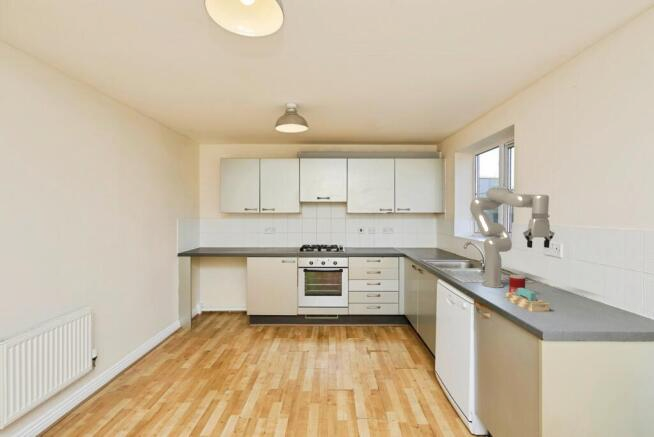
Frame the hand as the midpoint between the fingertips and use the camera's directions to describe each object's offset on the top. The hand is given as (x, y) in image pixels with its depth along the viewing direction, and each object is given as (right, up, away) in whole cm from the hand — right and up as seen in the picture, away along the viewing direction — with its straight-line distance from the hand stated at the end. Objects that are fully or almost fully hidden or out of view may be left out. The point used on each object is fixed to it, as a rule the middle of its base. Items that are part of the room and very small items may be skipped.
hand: (538, 247), depth 175 cm
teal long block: (-13, -29, -10) cm, 33 cm away
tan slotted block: (-13, -30, -10) cm, 34 cm away
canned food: (-5, -29, +10) cm, 31 cm away
